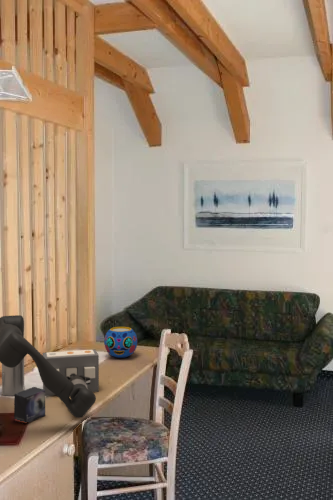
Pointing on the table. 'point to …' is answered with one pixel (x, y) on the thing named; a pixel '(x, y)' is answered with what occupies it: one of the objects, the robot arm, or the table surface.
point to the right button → (89, 371)
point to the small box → (29, 404)
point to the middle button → (71, 371)
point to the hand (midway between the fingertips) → (73, 375)
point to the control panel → (74, 365)
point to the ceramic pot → (120, 342)
